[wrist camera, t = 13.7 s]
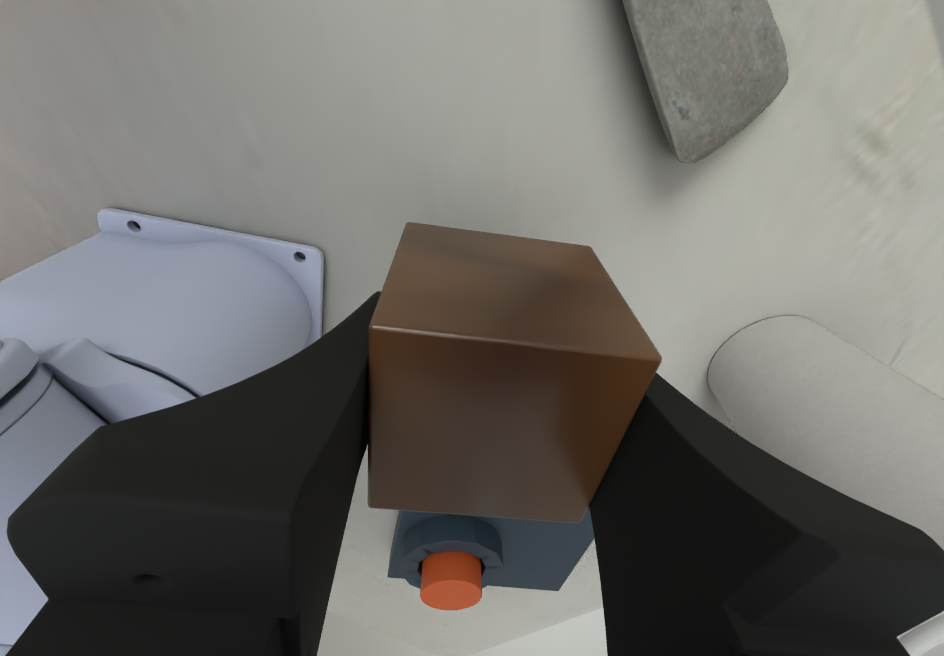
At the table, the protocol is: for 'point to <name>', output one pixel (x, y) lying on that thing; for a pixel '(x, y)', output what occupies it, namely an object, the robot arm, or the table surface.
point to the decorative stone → (707, 67)
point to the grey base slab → (492, 547)
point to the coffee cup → (840, 425)
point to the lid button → (451, 580)
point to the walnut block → (499, 376)
